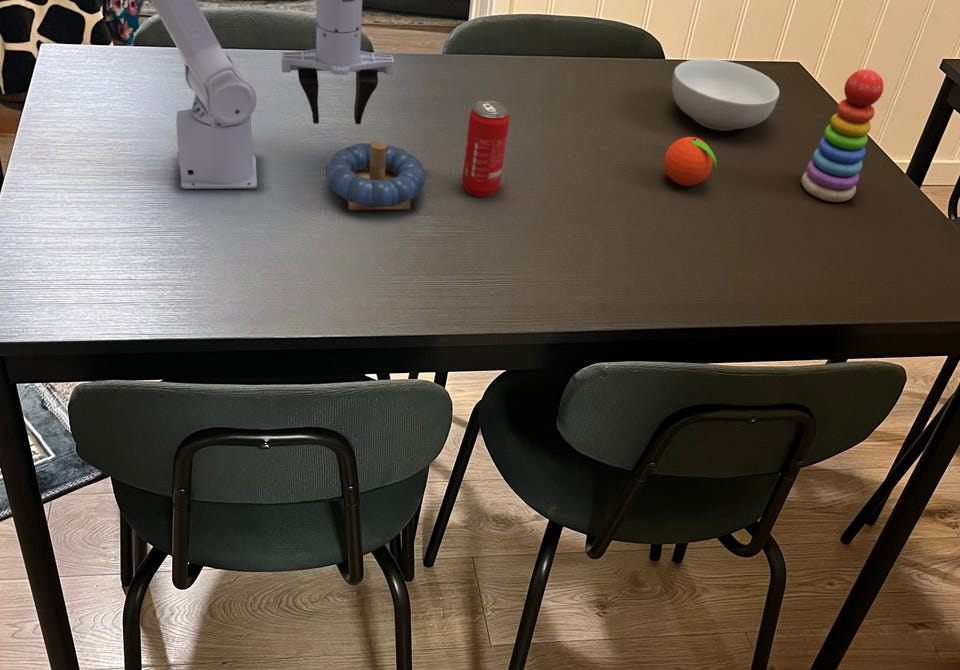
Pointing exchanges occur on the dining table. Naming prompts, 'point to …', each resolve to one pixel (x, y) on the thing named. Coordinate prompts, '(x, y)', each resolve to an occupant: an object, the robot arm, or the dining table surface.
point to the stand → (377, 175)
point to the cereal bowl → (723, 94)
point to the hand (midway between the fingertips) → (336, 120)
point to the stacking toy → (844, 141)
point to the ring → (375, 190)
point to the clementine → (688, 161)
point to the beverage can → (485, 148)
